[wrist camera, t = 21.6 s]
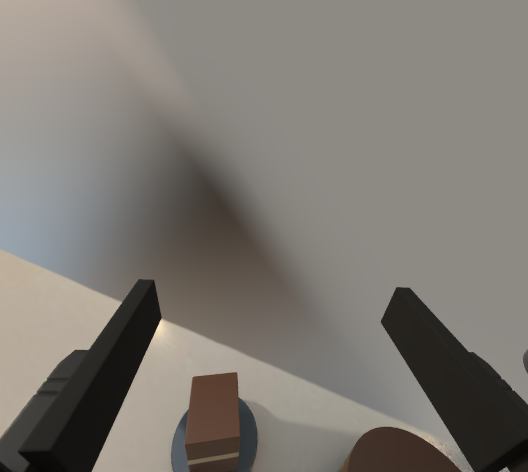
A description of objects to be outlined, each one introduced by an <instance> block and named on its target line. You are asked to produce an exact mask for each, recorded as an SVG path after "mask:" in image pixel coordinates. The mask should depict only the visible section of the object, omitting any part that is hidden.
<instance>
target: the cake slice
mask: <svg viewBox="0 0 528 472" xmlns="http://www.w3.org/2000/svg"><path fill="white" fill-rule="evenodd" d="M184 445H185V450H186V455H187V461H188V467H189V472H229V471H234V470H238V461H239V447H240V419H239V399H238V378H237V372H234V373H225V374H215V375H206V376H197V377H193V379H192V387H191V395H190V403H189V411H188V419H187V428H186V436H185V444H184Z"/></svg>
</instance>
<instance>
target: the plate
mask: <svg viewBox="0 0 528 472" xmlns="http://www.w3.org/2000/svg"><path fill="white" fill-rule="evenodd" d="M238 399H239V419H240V447H239V461H238V470H234V471H229V472H250V470H251V468H252V465H253V462H254V459H255V454H256V449H257V428H256V423H255V420H254V417H253V414H252V412H251V410H250V409H249V407H248V406H247V405H246V403H245V402H243V401H242V400H241V399H240V398H238ZM188 411H189V409H188V410H187V412H186V413H185V414H184V416H183V417H182V419H181V421H180V423H179V425H178V427H177V429H176V432H175V435H174V438H173V443H172V452H171V459H172V467H173V472H189V467H188V461H187V455H186V450H185V445H184V444H185V436H186V428H187V419H188Z"/></svg>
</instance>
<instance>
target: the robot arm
mask: <svg viewBox="0 0 528 472" xmlns="http://www.w3.org/2000/svg"><path fill="white" fill-rule="evenodd" d="M161 318H162V317H161V313H160V307H159V302H158V297H157V292H156V287H155V282H154V280H142V279H140V280H138V281H137V282H136V284H135V285H134V287H133V288H132V290H131V291H130V293H129V294H128V295H127V297H126V298H125V299H124V301H123V302H122V304H121V305H120V307H119V308H118V309H117V311H116V312H115V314H114V315H113V317H112V318H111V319H110V321H109V322H108V324H107V325H106V326H105V328H104V329H103V331H102V332H101V334H100V335H99V336H98V338H97V339H96V341H95V342H94V343H93V345H92V346H91V348H90V349H89V350H75V351H73V352H72V353H71V354H70V355H68V356H67V357H66V358H65V359H64V360H62V361H61V362H60V363H59V364H58V365H57V367H56V368H55V369H54V370H53V372H52V373H51V374H50V375H49V377H48V378H47V381H45V382H44V383H43V384H42V386H41V387H40V388H39V389H38V391H37V394H36V395H34V396H33V397H32V398H31V400H30V401H29V402H28V403H27V405H26V406H25V407H24V408H23V410H22V411H21V412H20V414H19V415H18V416H17V417H16V419H15V420H14V421H13V422H12V424H11V425H10V426H9V428H8V429H7V430H6V431H5V433H4V434H3V435H2V436H1V438H0V472H92V470H93V467H94V465H95V463H96V461H97V459H98V456H99V454H100V452H101V450H102V448H103V445H104V443H105V441H106V439H107V437H108V434H109V432H110V430H111V428H112V426H113V423H114V421H115V419H116V417H117V415H118V412H119V410H120V408H121V406H122V404H123V401H124V399H125V397H126V395H127V393H128V390H129V388H130V386H131V384H132V382H133V379H134V377H135V375H136V373H137V371H138V368H139V366H140V364H141V362H142V360H143V358H144V355H145V353H146V351H147V349H148V347H149V344H150V342H151V340H152V338H153V336H154V333H155V331H156V329H157V327H158V325H159V322H160V320H161ZM381 323H382V325H383V326H384V328H385V330H386V331H387V333H388V334H389V336H390V337H391V339H392V341H393V342H394V344H395V346H396V347H397V349H398V350H399V352H400V354H401V355H402V357H403V358H404V360H405V361H406V363H407V365H408V366H409V368H410V370H411V371H412V373H413V374H414V376H415V377H416V379H417V381H418V382H419V384H420V385H421V387H422V389H423V390H424V392H425V393H426V395H427V397H428V398H429V400H430V402H431V403H432V405H433V406H434V408H435V410H436V411H437V413H438V414H439V416H440V417H441V419H442V421H443V422H444V424H445V425H446V427H447V429H448V430H449V432H450V433H451V435H452V437H453V438H454V440H455V441H456V443H457V445H458V446H459V448H460V449H461V451H462V453H463V454H464V456H465V457H466V459H467V461H468V462H469V464H470V465H471V467H472V469H473V470H474V472H499V471H500V470H502V469H503V468H505V467H507V468H508V469H509V471H510V472H528V404H526V402H525V401H524V400H523V399H522V398H521V397H520V396H519V395H518V394H517V393H516V392H515V391H513V390H512V388H511V387H510V386H509V385H508V384H507V383H506V381H505V380H502V379H501V376H500V375H499V374H498V373H497V372H496V371H495V370H494V369H493V368H492V367H491V366H490V365H489V364H488V363H487V362H485V361H484V360H483V359H482V358H480V357H479V356H477V355H476V354H475V353H474V352H468V351H467V350H466V349H465V348H464V346H463V345H462V344H461V343H460V342H459V341H458V340H457V339H456V338H455V337H454V336H453V335H452V333H450V331H449V330H448V329H447V328H446V327H445V326H444V325H443V324H442V323H441V322H440V320H439V319H438V318H437V317H436V316H435V315H434V314H433V313H432V312H431V311H430V309H429V308H427V306H426V305H425V304H424V303H423V302H422V301H421V300H420V299H419V298H418V296H417V295H416V294H415V293H414V292H413V291H412V290H411V289H410V288H401V287H397V288H396V290H395V292H394V294H393V296H392V298H391V300H390V303H389V305H388V307H387V309H386V311H385V313H384V316H383V318H382V320H381Z"/></svg>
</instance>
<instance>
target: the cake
mask: <svg viewBox="0 0 528 472" xmlns="http://www.w3.org/2000/svg"><path fill="white" fill-rule="evenodd" d="M339 472H461V471H460V470H459V469H458V467H457V466H456V465H455V464H454V463H453V462H452V461H451V460H449V459H448V458H447V457H446V456H445V455H444V454H443V453H442V452H440V451H439V450H438V449H437V448H435V447H434V446H433V445H431V444H430V443H428V442H427V441H425V440H424V439H422V438H420V437H418V436H417V435H415V434H413V433H410V432H408V431H405V430H402V429H399V428H393V427H379V428H375V429H372V430H370V431H368V432H367V433H365V434H364V435H363V436H362V437H361V438H360V439H359V440H358V441H357V443H356V444H355V446H354V448H353V449H352V451H351V452H350V454H349V456H348V457H347V459H346V460H345V462H344V464H343V465H342V467H341V469H340V470H339Z"/></svg>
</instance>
